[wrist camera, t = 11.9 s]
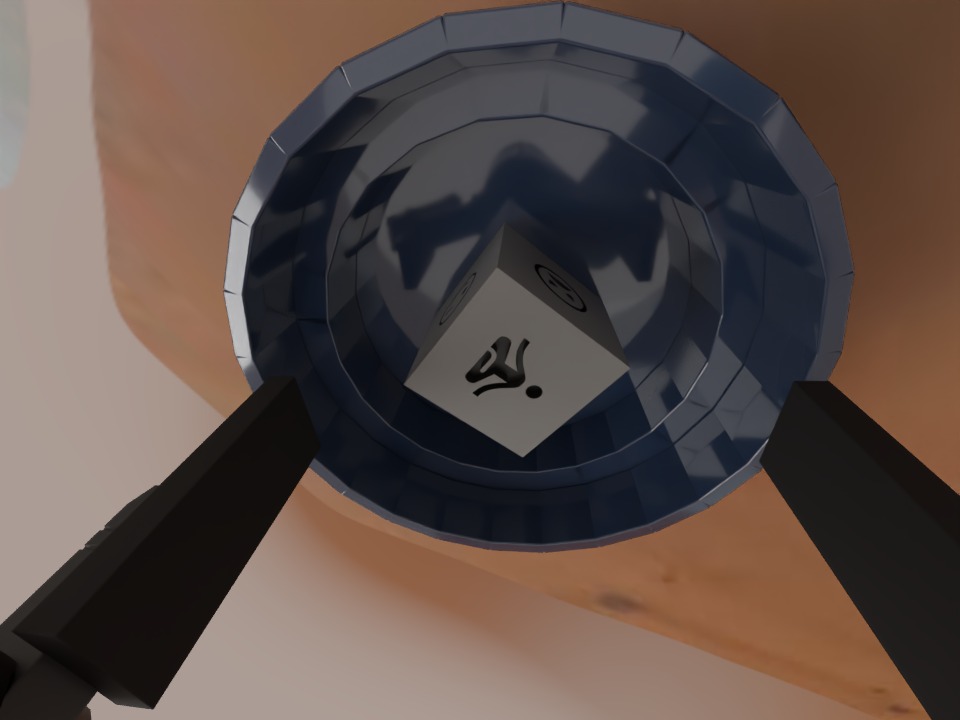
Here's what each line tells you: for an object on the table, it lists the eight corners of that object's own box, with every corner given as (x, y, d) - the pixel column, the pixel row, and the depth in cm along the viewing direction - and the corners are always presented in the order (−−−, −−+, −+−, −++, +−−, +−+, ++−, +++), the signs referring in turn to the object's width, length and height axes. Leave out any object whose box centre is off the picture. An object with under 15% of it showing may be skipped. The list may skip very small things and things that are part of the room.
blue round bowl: (810, 21, 11) (1049, -56, 6) (683, 451, 20) (736, 563, 15) (256, 75, 13) (88, 51, 8) (368, 445, 22) (322, 542, 17)
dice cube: (504, 222, 14) (497, 267, 10) (601, 300, 16) (630, 368, 11) (433, 317, 17) (403, 384, 13) (522, 377, 18) (522, 457, 14)
